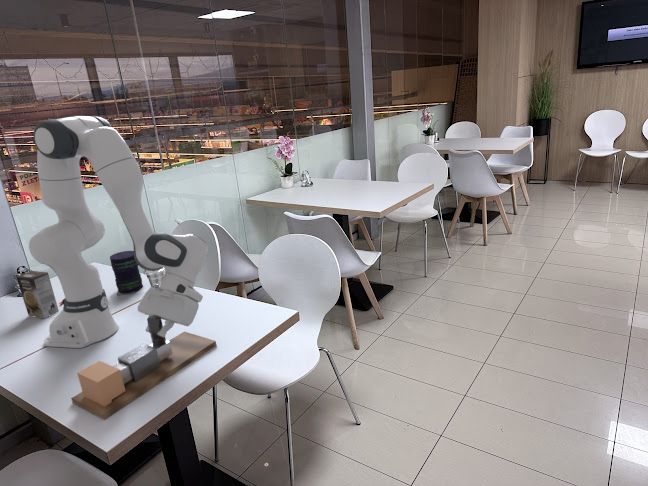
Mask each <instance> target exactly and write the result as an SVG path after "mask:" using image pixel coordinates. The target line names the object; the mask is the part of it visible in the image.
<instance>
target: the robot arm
mask: <svg viewBox="0 0 648 486" xmlns="http://www.w3.org/2000/svg"><path fill="white" fill-rule="evenodd" d="M34 127H35V128H34V130H33V142H34V145H35V147H36V149H37V156H36V157H37V159H36V161H37V163H36V164H37V165H36V167H37V175H38V182H39V188H40V195H41V200H42V204H44V206H46V208H48V209H51V210H53V211H54V212H55V213H56V216H57V217H58V222H57V223H54V224H51V225H50V226H47V227H45V228H43V229H40V230H39V232H37V233H35V234H34V235H33V236H32V237H31V238H30V239H29V242H28V250H29V253H30V255H31V257H32V258H33V259H34V260H35V261H36V262H38V263H39V264H42V265H45V266H47V267H49V268H50V269H51V270H52V271H53V272H54V273H55V274H56V276H57V278H58V280H59V282H60V285H61V286H60V287H61V289H62V291H63V295H64V298H63V299H62V300H61V301H60V302H59V303H58V305H59V306H58V308H60V307H62V306H63V307H62V310H61V311H59V312H58V313H59V314H57V316H55V317H54V319H53V320H52V321H51V323H50V324H49V330H48V331H49V334H48V335H47V336H46V338H45V339H44V340H43V346H44V347H51V348H52V347H53V348H55V347H56V348H71V349H73V348H74V349H83V348H85V347H88V346H89V345H91V344H95V343H97V342H100V341H102V340H105V339H108V338H109V337H111V336H112V335H114V334H115V333H116V332H117V331H118V330H119V325H118V323H117V322H116V321H115V319H114V317H113V315H112V313H111V311H110V307H109V302H108V296H107V294H106V290H105V289H104V288H103V284H102V280H101V276H100V273H99V269H98V268H97V267H96V266H95V265H94V264H93V265H92V264H91V263H90V264H89V263H87V262H86V261H85V260H84V258H83V255H82V253H83V252H84V251H86V250H88V249H90V248H92V247H94V246H96V245H97V244H98V243H99V242H100V241H101V240H102V239H103V238H104V236H105V232H106V229H105V226H104V223H103V222H102V220H101V219H100V217H98V216H96V215H94V214H93V213H92V212H91V210H90V208H89V206H88V204H87V202H86V199H85V193H84V187H83V186H84V185H83V180H82V174H81V173H82V172H81V167H80V161H81V158H82V157H84V158H87V160H88V161H89V162H90V164H91V167H92V168H93V170H94V172H95V174H96V177H97V178H98V180H99V182H100V184H101V185H102V187H103V188H104V190H105V192H106V193H107V195H108V196H109V197H110V199H111V201H112V202H113V204H114V206H115V207H116V209H117V210H118V211H117V212H119V215H120V217H121V218H122V221H123V223H124V225H125V228H126V229H127V232H128V233H129V236H130V237H131V241H132V245H133V251H134V258H135V261H136V263H137V264H138V267H140V268H141V269H143V270H148V271H156V270H159V269H161V268H164V269H166V270H165V275H164V278H163V280H162V282H161V284H160V285H158V284H155V285H154V286H152V287H151V286H150V287H149V289H147V290H146V292H145V293H144V295H143V296H142V298H141V300H140V302H139V303H138V305H137V311H138V312H139V313H142V314H144V315H146V316H148V317H150V316H153V315H157V316H160V317H161V320H164V325H163V327H162V329H159V330H158V333H157V335H159V336H161V337H165V338H166V335H167V333H168V332H169V331H170V330H171V329H172V328H173V327H174V326H175V324H177V325H181V326H184V327H189V326H191V325H192V323H193V322H194V319H195V317H196V316H197V314H198V311H199V303H201V302H202V300H203V298H204V296H203V294H201V293H200V292H198V291H197V290H196V289H195V288H194V287H195V284H196V279H197V277H198V275H200V273H201V271H202V269H203V266H204V264H205V262H206V260H207V257H208V256H207V255H208V253H209V251H208V250H209V248H208V245H207V243H206V242H205V240H204V239H202V238H201V237H199V236H197V235H195V234H193V233H186V234H171V233H170V234H169V233H166V232H154V231H153V229H152V226H151V224H150V223H149V219H148V217H147V215H146V214H145V211H144V209H143V205H142V194H143V187H144V177H143V175H142V174H143V173H142V170H141V168H140V166H139V163H138V161H137V159H136V157H135V155H134V154H133V152H132V151H131V149H130V147H129V145H128V144H127V142H126V141H125V139H123V137H122V135H121V134H120V133H119V132H118V130H116V129H115V128H113V127H112V125H111V124H110V122H109V121H108V120H107V119H105V118H103V117H100V116H96V115H72V116H71V115H70V116H67V117H66V116H65V117H62V118H61V117H60V118H54V119H53V118H50V119H46V120H43V121H41V122H39V123H38V124H37V125H35V126H34ZM145 332H146V333H149V334H150V330H149V326H148V325H147V326H146V329H145Z"/></svg>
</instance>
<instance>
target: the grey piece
mask: <svg viewBox="0 0 648 486" xmlns="http://www.w3.org/2000/svg"><path fill="white" fill-rule="evenodd" d="M162 320H163V319H161V317H160V316H157V315H153V316H150V317H149V316H148V317H147V318H146V321H147V326H149V330H150V333H149V334H150V338H151V342H152V343H150V344H149V345H148V346H151V347H154V348H156V349H157V353H158V358H159V362H160V361H162V360H163V359H165V358H167V357H168V356H170V355H172V354H173V353H172V348H171V344H170V341H169V340H166V336H165V337H161V336H159V335H157V333H158V330H159V329H162V327H163V326H164V325H163V322H162ZM112 366H113V367H116V368H118V369H120V372H121V375H122V379H123V383H124V384H125V383H126V382H128V381H130V380H131V379H133V375H132V371H131V367H130V365H129V364H127V363H124V362H122V361H121V362H117V363H115V364H114V365H112Z"/></svg>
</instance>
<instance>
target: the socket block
mask: <svg viewBox="0 0 648 486" xmlns="http://www.w3.org/2000/svg"><path fill="white" fill-rule="evenodd" d="M113 366H114V365H111V364H108V363H106V362H104V361H101V360H98V361H96V362H94V363H93V364H92V363H91V365H89V366H87V367H85V368H84V369H81V370H80V371H78V372H77V373H76V374H77V378H78V381H79V384H80V387H81V392H83V395H84V397H86V398H88V399H90V400H92V401H94V402H96V403H98V404H100V405H102V406H104V407H105V406H106V405H108V404H110V403H111V402H112V399H114V398H115V397H117V396H118V395H120V394H122V393H123V392H125V387H124V383H123V379H122V375H121V372H120V369H118V368H116V367H113Z"/></svg>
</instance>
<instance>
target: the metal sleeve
mask: <svg viewBox="0 0 648 486" xmlns="http://www.w3.org/2000/svg"><path fill="white" fill-rule="evenodd" d="M117 361H118V362H117V363H119V362H121V361H122V362H124V363H127V364H129V365H130V367H131V371H132V375H133V379H131V381H133V382H135V383H136V382H138V381H139V380H141V379H142V378H144V377H146V376H147V375H149V374H150V373H152V372H153V371H155V370H157V369H158V368H160V367H161V366H160V362H159V358H158V353H157V349H156V348H154V347H151V346H149V345H148V344H146V343H142V344H140V345H138V346H136V347H135V348H132V349H131V350H129V351H127V352H126V353H124V354H123V355H121V356H118V357H117Z"/></svg>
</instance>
